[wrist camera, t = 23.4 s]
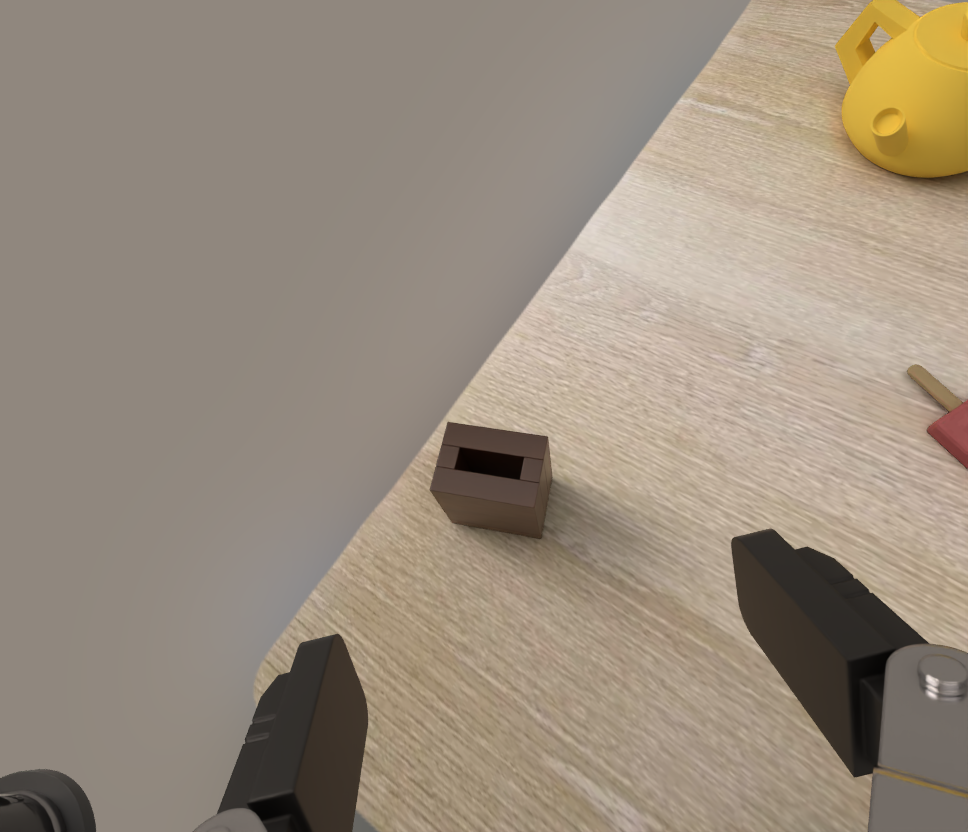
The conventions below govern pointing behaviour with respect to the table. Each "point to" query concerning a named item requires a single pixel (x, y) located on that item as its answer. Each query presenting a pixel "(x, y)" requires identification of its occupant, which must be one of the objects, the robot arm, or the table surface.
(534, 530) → the knife block
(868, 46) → the teapot
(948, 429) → the popsicle
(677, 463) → the table surface
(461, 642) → the table surface
